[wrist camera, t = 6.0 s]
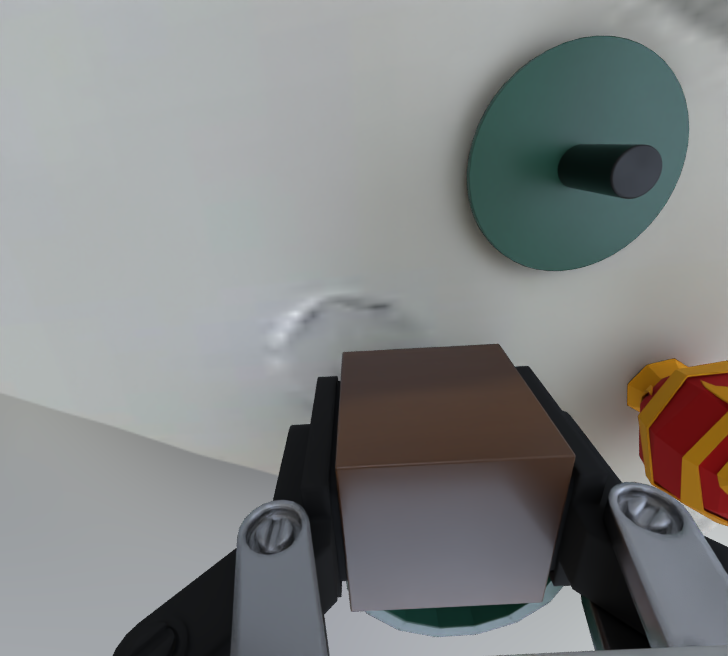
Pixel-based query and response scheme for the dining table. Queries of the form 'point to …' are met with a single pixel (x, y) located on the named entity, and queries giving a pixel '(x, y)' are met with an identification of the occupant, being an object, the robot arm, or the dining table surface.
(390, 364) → the block
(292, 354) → the dining table surface
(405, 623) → the green tube
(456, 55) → the dining table surface
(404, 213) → the dining table surface
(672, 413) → the potion bottle
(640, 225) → the green disc with handle
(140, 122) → the dining table surface
